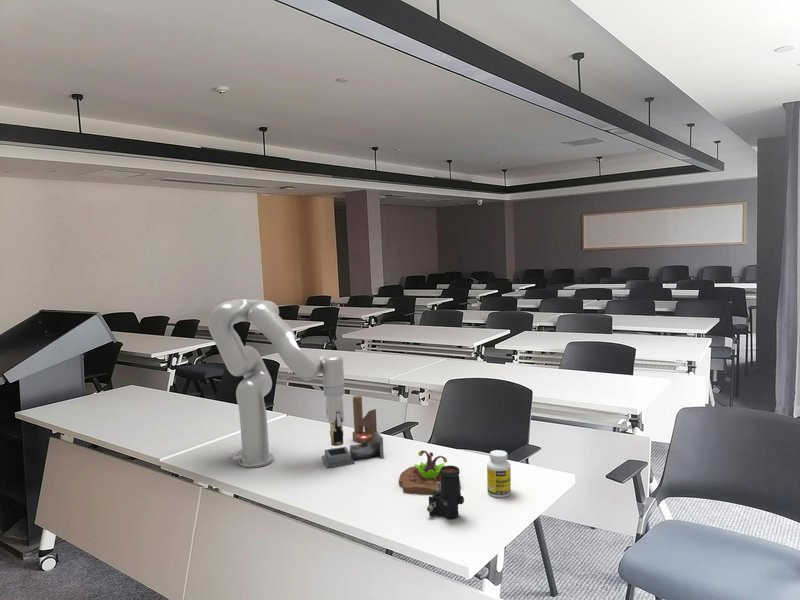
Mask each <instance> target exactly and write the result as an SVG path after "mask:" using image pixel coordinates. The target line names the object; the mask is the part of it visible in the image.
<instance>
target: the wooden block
mask: <svg viewBox="0 0 800 600" xmlns="http://www.w3.org/2000/svg"><path fill="white" fill-rule="evenodd" d="M352 408H353V412H352V413H353V429H354V431H353V432H352V441H353V442H357V443H359V444H362V440H357V439H356V435H357V434H359V433H370V434H372V438H371V439H369V440H366V443H370V442H375V439H374V432H378V431H377V430H378V428H377V426H378V424H377V409H376V408H374V409H371V410H369V411H368V412H367V413H366V414H365V416H364V415H363V411H364V410H363V397H362V396H361V395H353V396H352Z"/></svg>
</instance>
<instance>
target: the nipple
mask: <svg viewBox="0 0 800 600" xmlns="http://www.w3.org/2000/svg"><path fill="white" fill-rule="evenodd" d="M336 422H337V421H335V423H336ZM336 425H337V424H336ZM329 428H330V429H329V433H330V434H329V436H330V445H331V446H334V447H338V446H339V447H340V446H343V445H344V440H343V441H342V442H334V435H333V431H334V424H333V423H332V424H330V423H329ZM342 431H343V432H344V429H343V425H342ZM343 436H344V433H343Z"/></svg>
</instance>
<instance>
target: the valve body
mask: <svg viewBox="0 0 800 600" xmlns="http://www.w3.org/2000/svg"><path fill="white" fill-rule="evenodd" d="M371 438H372V434H370V433H359V434H357V435H356V439H357V440H362V443H359V444H351V445H349V449H348V448H347V446H341V447H340V446H339V447H336V448H328V449H324V455H322V456H321V459H322V462H323V464H324V465H325V468H326V469H331V468H337V467H344V466H350V465H355V463H356V462H355V460H358V459H363V458H370V457H377V456H378V457H379V458H380V459H384V457H385V455H384V454H385V453H384V438H383V436H382V435H381V434H380V433H379V432H378V431H377V432H374V439H375V442H370V443H366V440H369V439H371Z"/></svg>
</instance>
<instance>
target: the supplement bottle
mask: <svg viewBox="0 0 800 600" xmlns="http://www.w3.org/2000/svg"><path fill="white" fill-rule="evenodd" d="M489 459H490V460H488V462H487V463H486V477H487V479H486V481H487V482H486V483H487V484H486V485H487V489H486V490H487V494H488V495H489V496H491V497H494V498H506V497H508V496H510V495H511V491H512V489H511V487H512V485H511V481H512V480H511V470H512V469H511V463H510V462H509V461H508V452H507V451H505V450H500V449H499V450H498V449H496V450H495V449H494V450H492V451H490V452H489Z"/></svg>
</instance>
